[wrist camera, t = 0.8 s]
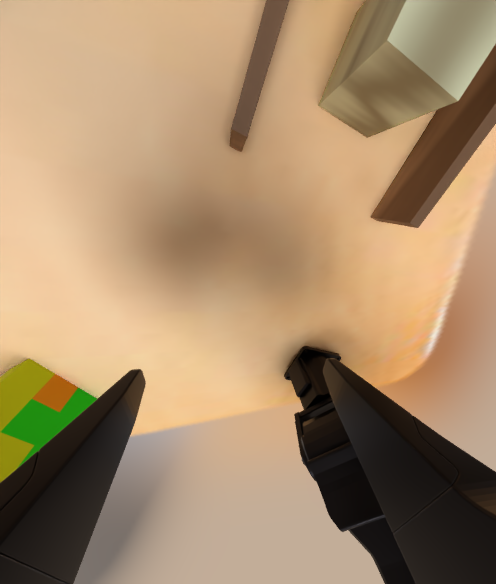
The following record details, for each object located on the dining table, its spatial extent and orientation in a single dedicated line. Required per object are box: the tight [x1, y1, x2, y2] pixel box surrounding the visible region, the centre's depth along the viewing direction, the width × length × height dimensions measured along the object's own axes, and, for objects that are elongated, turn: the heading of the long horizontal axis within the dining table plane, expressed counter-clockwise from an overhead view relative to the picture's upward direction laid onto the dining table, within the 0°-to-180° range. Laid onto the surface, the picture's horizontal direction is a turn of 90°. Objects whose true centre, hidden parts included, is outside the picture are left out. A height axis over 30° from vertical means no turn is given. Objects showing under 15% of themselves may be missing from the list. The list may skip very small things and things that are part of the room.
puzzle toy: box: [0, 359, 97, 482], centre depth 21 cm, size 10×10×10 cm
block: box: [318, 0, 496, 137], centre depth 11 cm, size 5×5×7 cm
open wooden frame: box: [230, 0, 496, 228], centre depth 12 cm, size 16×13×4 cm
